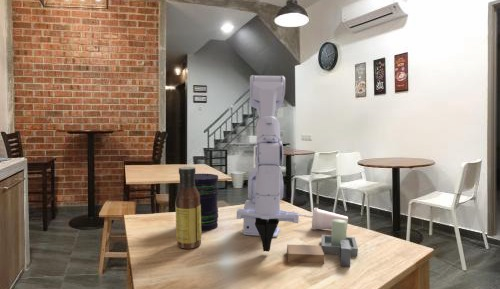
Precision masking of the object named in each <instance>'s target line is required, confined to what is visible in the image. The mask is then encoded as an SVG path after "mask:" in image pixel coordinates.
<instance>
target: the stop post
mask: <svg viewBox="0 0 500 289" xmlns="http://www.w3.org/2000/svg"><path fill="white" fill-rule="evenodd" d="M351 257H352V256H351V248H350V243H349V240H341V239H340V254H339V264H340V267H346V268H351Z"/></svg>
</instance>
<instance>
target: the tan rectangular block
mask: <svg viewBox="0 0 500 289" xmlns="http://www.w3.org/2000/svg"><path fill="white" fill-rule="evenodd" d="M286 254H287V261H288V262H287V263H292V264H293V263H295V264H319V265H320V264H321V265H323V264H325V253H323V250H322V248H321V245H311V244H288V243H287V244H286Z"/></svg>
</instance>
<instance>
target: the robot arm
mask: <svg viewBox="0 0 500 289" xmlns="http://www.w3.org/2000/svg"><path fill="white" fill-rule="evenodd" d="M285 95H286V77H285V76H284V75H255V74H254V75H253V74H252V75H250V76H249V103H250V107H252V108H253V109H256V111H257V115H258V121H257V122H256V144H255V145H254V168H253V169H251V170H250V171H249V173H248V179H247V198H248V199H249V200H248V199H247V200H245V202H244V206H243V208H238V209H237V210H236V219H237V220H241V219H243V228H242V229H243V232H242V235H245V236H246V235H247V236H259V238H260V240H261V245H262V251H263V252H270V250H271V244H272V240H273V238H277V237H278V235H279V233H280V229H281V227H280V226H278V225H279V222H289V223H294V224H299V220H300V219H299V217H300V216H299V214H300V213H299V212H294V211H287V210H281V201H282V200H283V199H284V188H285V187H284V177H283V172H282V171H281V168H283V164H284V145H283V142H282V138H281V123H280V121H279V119H278V118H276V111H277V110H278V109H279V108H281V107H283V104H284V99H285Z"/></svg>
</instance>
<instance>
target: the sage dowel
mask: <svg viewBox="0 0 500 289" xmlns="http://www.w3.org/2000/svg"><path fill="white" fill-rule="evenodd" d="M347 230H348V225H347V221H345V220H340V219H335V220H332V229H331V235H332V236H331V246H340V239H341V240H346V237H347V233H348V232H347Z"/></svg>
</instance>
